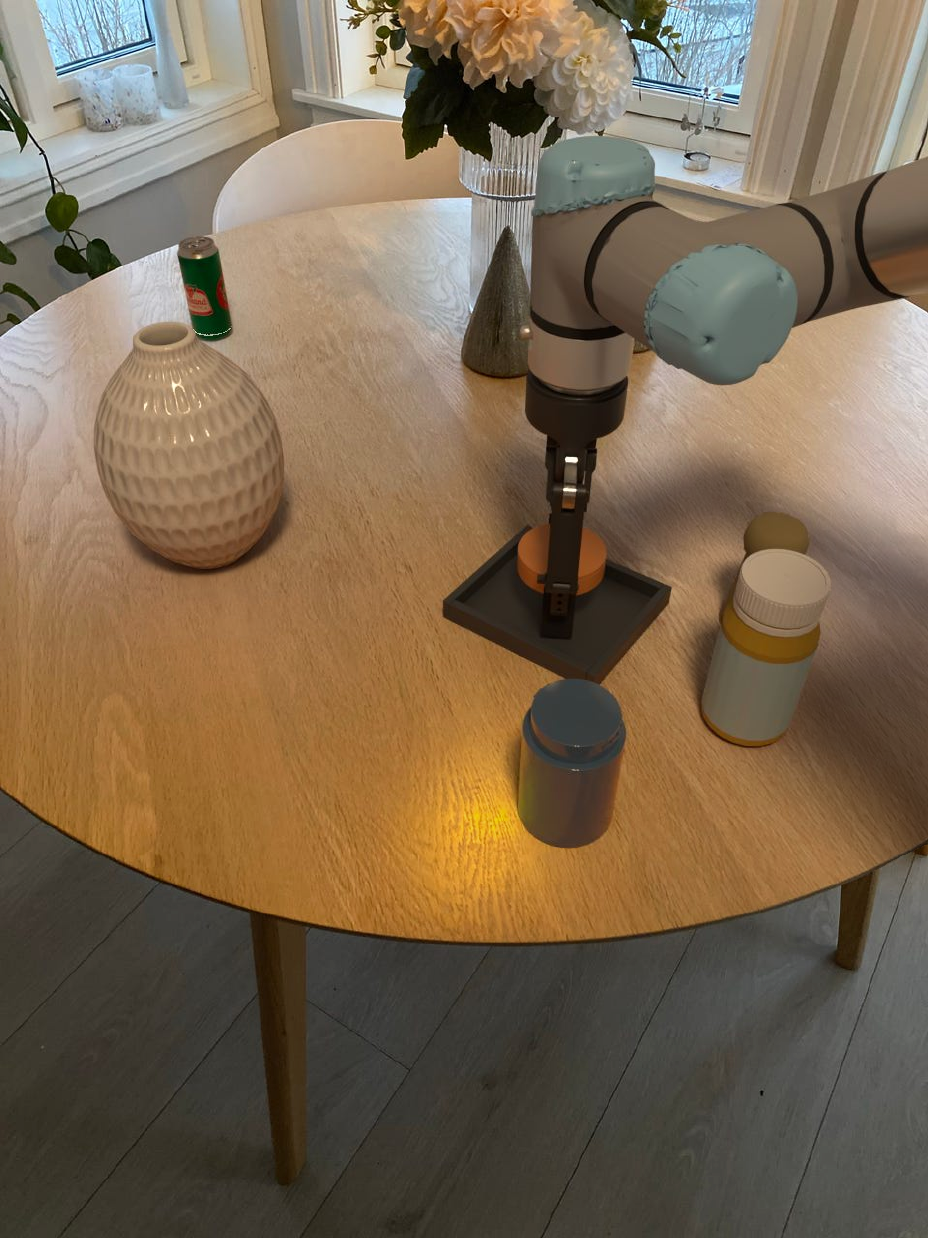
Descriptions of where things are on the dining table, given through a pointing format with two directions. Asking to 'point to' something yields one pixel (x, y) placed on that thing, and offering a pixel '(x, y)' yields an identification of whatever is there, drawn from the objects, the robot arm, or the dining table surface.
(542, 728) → the jar
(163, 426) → the vase
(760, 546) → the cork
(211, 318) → the soda can
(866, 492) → the dining table surface
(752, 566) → the bottle
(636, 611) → the tray
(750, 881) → the dining table surface
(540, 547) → the lid
